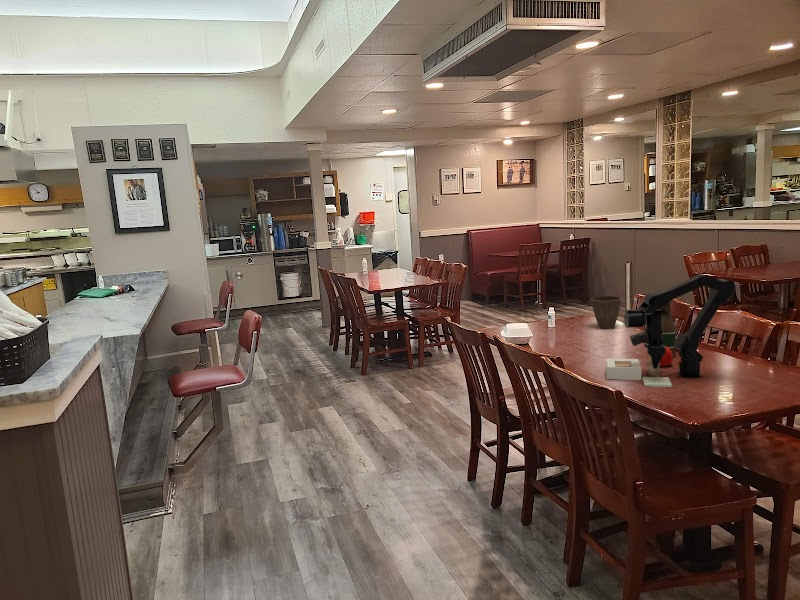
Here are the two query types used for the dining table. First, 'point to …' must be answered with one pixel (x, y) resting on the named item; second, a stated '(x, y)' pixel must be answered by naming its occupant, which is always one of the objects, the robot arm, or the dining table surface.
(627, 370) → the box
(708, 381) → the dining table surface
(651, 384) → the rest pad
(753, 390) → the dining table surface
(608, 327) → the plant pot
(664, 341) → the beer bottle
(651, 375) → the tan cylinder
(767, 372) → the dining table surface
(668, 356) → the tomato
